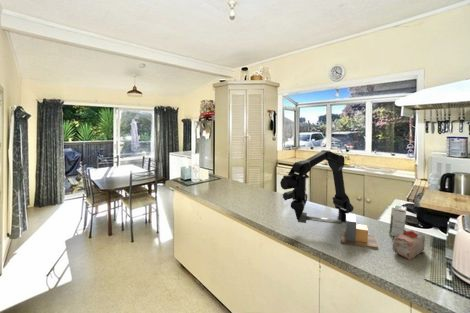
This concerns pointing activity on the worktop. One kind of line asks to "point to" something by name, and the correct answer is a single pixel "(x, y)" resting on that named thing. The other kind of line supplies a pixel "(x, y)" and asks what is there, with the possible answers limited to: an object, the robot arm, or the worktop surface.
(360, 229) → the block
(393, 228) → the syrup box
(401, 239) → the food item
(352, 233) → the stand
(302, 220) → the shaft
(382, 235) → the worktop surface
